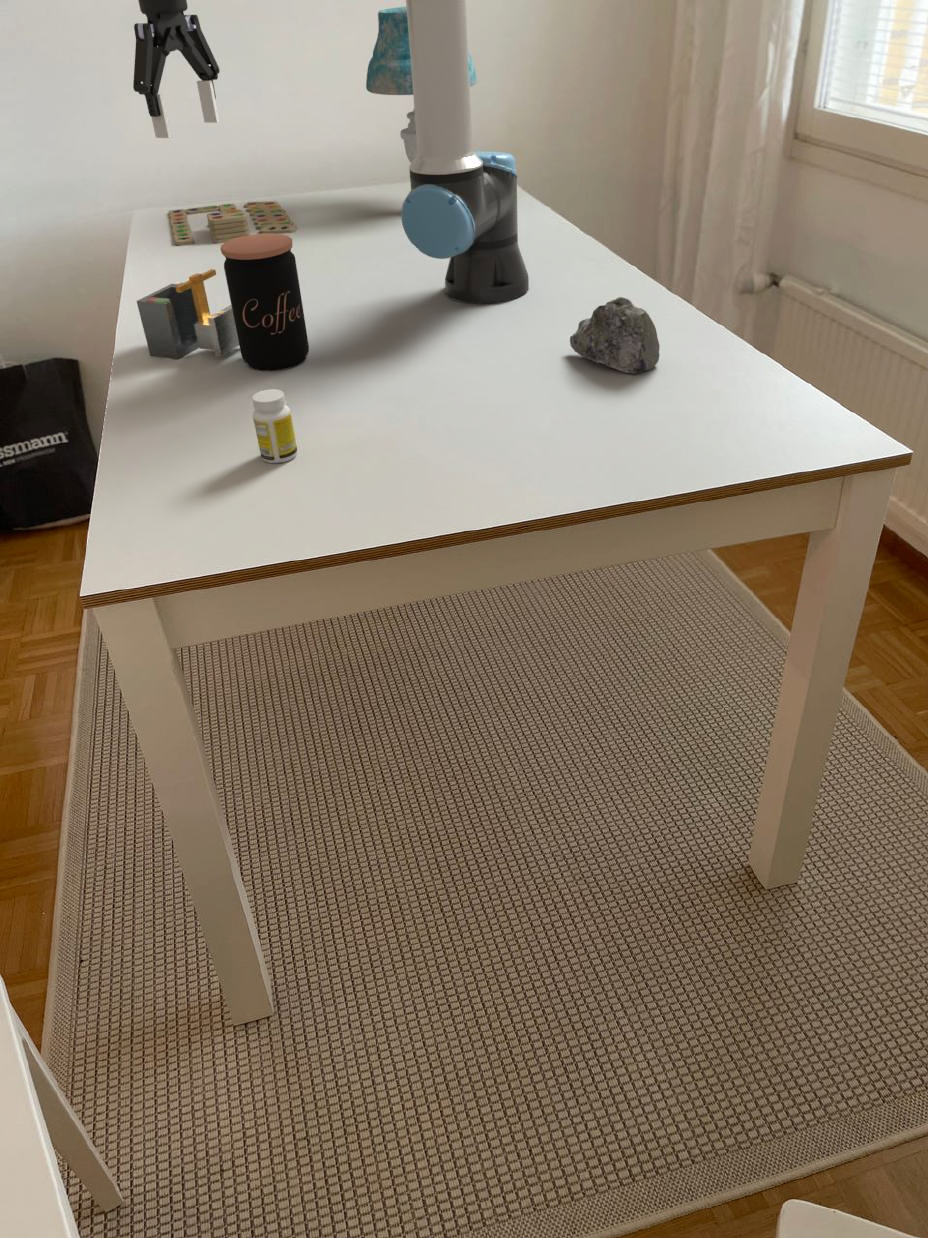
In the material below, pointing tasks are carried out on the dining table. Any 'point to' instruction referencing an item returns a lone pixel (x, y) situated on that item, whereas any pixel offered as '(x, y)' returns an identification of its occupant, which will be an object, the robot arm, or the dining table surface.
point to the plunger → (211, 318)
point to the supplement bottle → (274, 426)
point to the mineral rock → (618, 337)
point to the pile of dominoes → (232, 221)
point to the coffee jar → (266, 301)
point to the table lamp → (397, 67)
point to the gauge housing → (169, 322)
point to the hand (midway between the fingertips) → (188, 129)
